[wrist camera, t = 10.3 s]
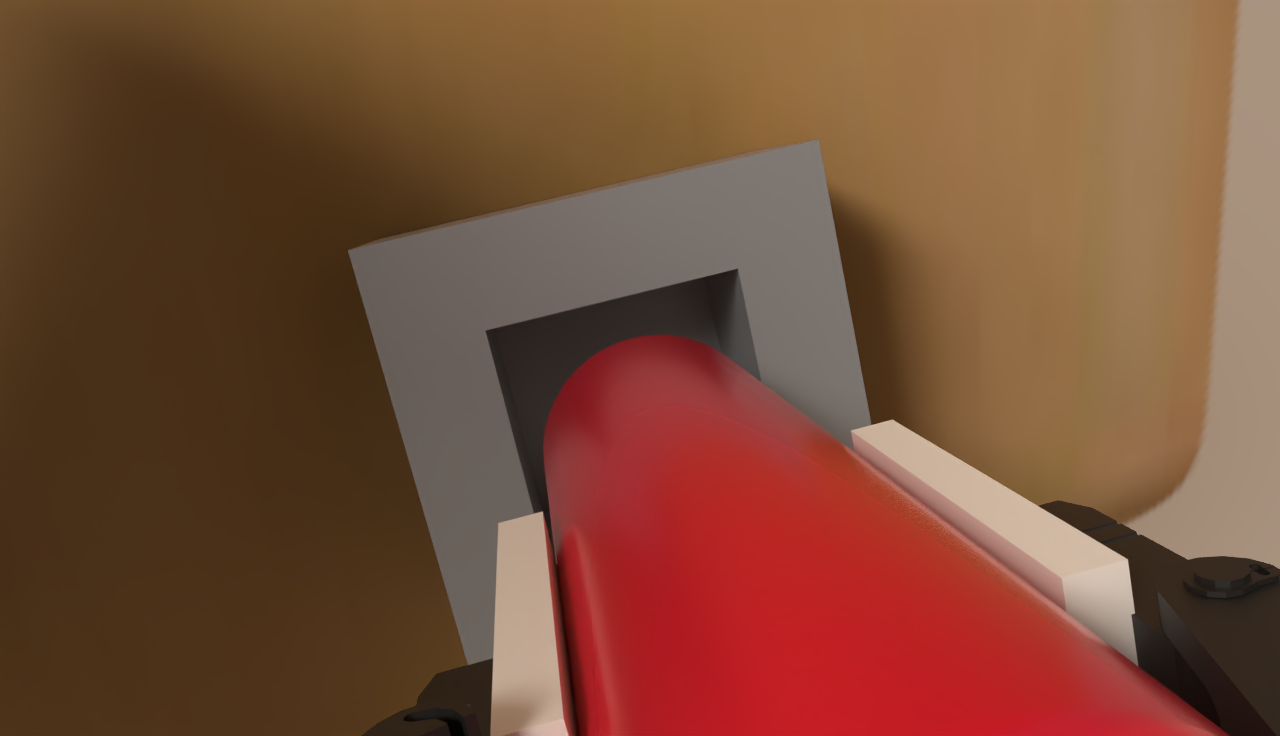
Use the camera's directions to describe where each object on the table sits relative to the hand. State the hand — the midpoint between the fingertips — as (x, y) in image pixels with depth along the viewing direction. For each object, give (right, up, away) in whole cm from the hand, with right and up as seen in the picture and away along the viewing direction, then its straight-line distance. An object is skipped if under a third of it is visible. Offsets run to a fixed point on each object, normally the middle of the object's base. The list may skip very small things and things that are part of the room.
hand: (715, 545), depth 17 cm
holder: (-2, +3, +15) cm, 15 cm away
